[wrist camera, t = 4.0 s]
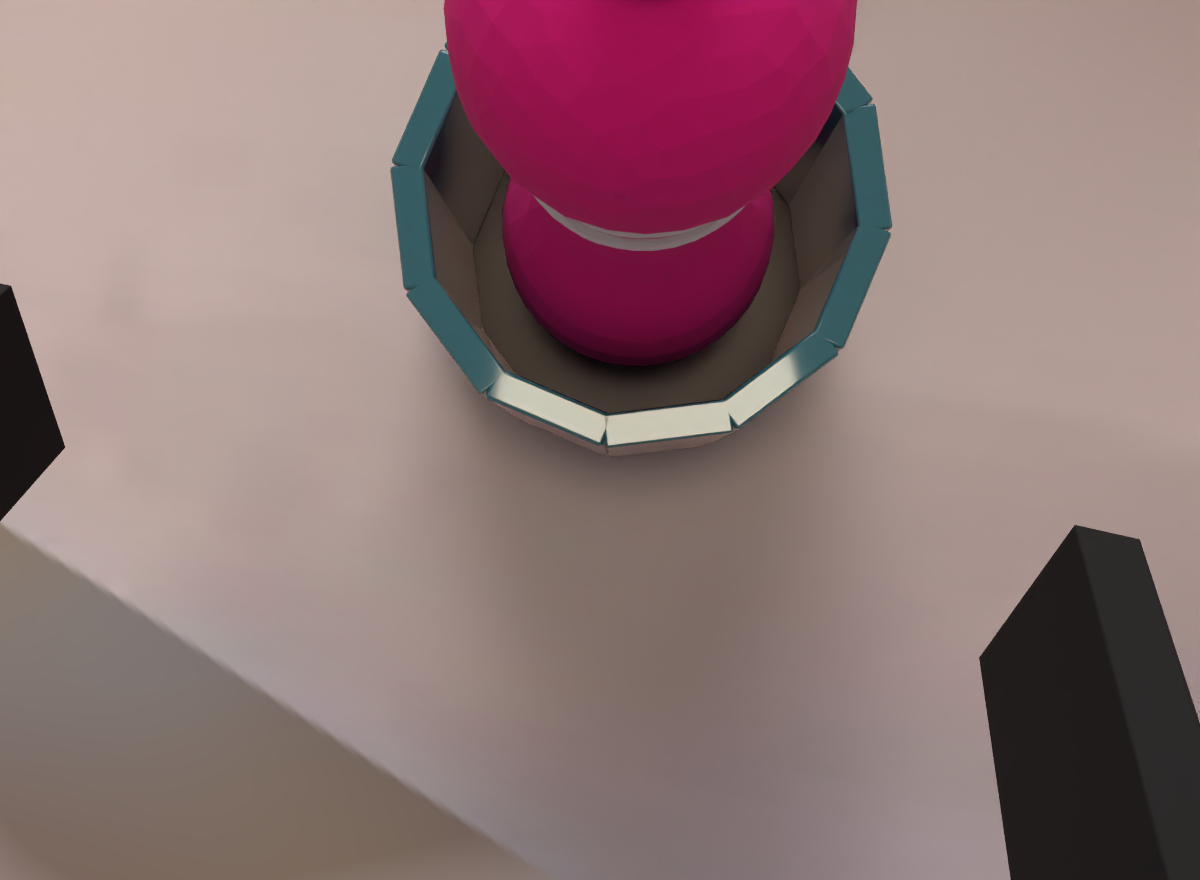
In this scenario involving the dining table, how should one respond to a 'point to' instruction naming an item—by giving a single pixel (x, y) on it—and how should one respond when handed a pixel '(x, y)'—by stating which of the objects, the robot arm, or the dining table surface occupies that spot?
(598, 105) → the pepper mill
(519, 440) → the dining table surface
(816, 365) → the crock
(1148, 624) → the robot arm
